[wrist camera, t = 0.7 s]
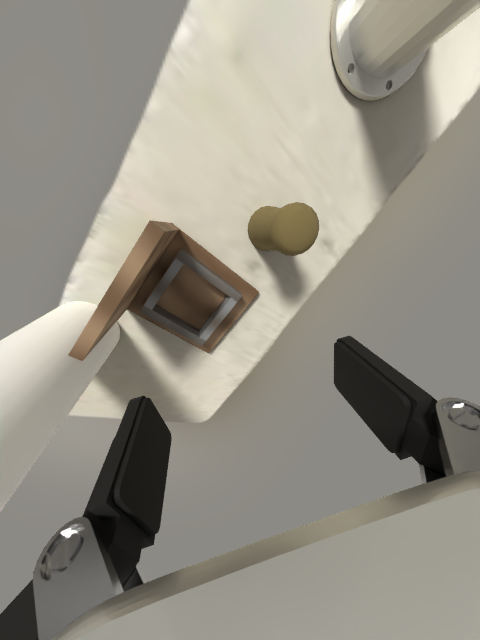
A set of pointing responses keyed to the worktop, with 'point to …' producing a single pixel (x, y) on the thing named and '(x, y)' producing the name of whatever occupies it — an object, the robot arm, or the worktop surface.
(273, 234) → the cork
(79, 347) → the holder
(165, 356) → the worktop surface
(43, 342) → the cylinder container
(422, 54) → the robot arm
